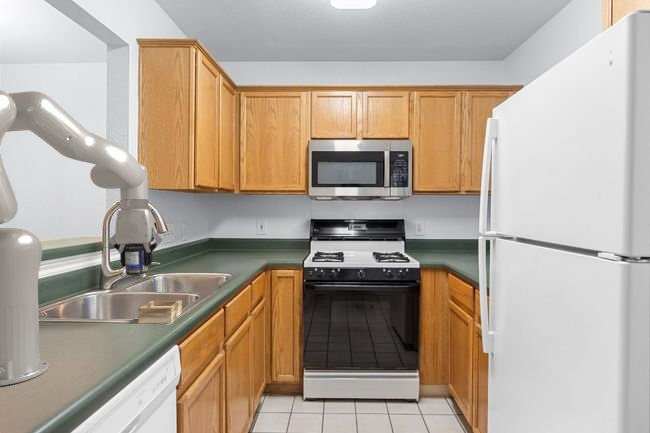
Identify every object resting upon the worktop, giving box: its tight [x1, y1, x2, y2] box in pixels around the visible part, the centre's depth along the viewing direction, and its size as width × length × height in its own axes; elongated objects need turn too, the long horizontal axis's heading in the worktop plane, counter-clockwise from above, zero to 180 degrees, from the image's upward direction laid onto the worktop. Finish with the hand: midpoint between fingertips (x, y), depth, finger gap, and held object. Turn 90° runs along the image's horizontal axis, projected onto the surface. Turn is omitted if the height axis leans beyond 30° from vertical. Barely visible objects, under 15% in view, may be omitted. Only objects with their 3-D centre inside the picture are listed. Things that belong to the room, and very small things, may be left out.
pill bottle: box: [125, 244, 149, 276], centre depth 123 cm, size 6×6×11 cm
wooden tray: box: [137, 300, 183, 324], centre depth 131 cm, size 10×10×4 cm
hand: (136, 264), depth 124 cm, fingers closed on pill bottle, 6 cm apart
